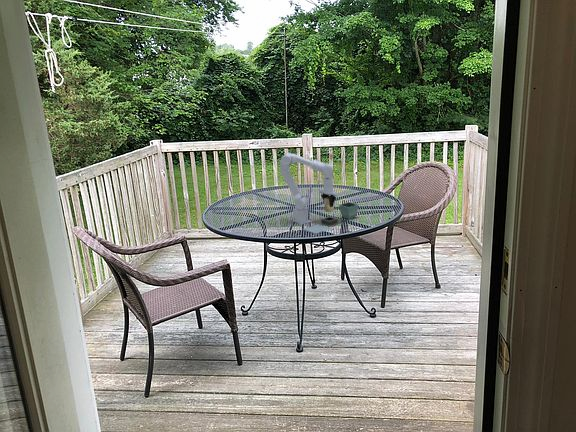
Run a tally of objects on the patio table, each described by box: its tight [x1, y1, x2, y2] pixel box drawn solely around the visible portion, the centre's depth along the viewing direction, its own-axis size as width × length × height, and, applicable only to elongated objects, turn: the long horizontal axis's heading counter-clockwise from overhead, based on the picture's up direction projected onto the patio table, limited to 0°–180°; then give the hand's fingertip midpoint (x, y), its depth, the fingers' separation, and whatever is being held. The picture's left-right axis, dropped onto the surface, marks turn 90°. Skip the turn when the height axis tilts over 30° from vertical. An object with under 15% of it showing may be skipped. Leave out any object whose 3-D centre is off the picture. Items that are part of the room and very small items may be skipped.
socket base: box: [311, 216, 348, 228], centre depth 284 cm, size 16×16×2 cm
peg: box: [323, 198, 335, 213], centre depth 281 cm, size 4×4×8 cm
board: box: [302, 223, 332, 235], centre depth 272 cm, size 12×12×1 cm
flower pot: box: [338, 201, 359, 220], centre depth 289 cm, size 9×9×9 cm
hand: (329, 206), depth 282 cm, fingers closed on peg, 4 cm apart
